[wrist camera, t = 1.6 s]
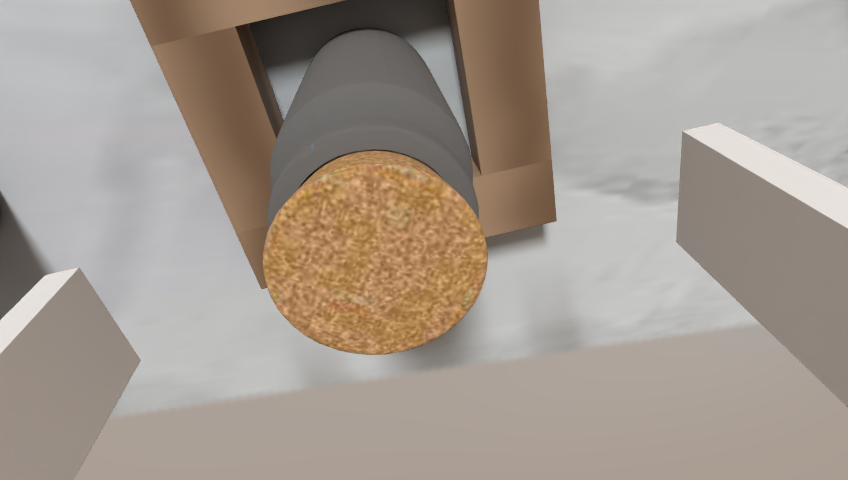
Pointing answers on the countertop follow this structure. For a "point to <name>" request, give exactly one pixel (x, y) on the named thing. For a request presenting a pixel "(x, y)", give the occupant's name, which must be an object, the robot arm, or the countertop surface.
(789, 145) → the countertop surface
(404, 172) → the bottle
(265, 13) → the brown wooden square frame
